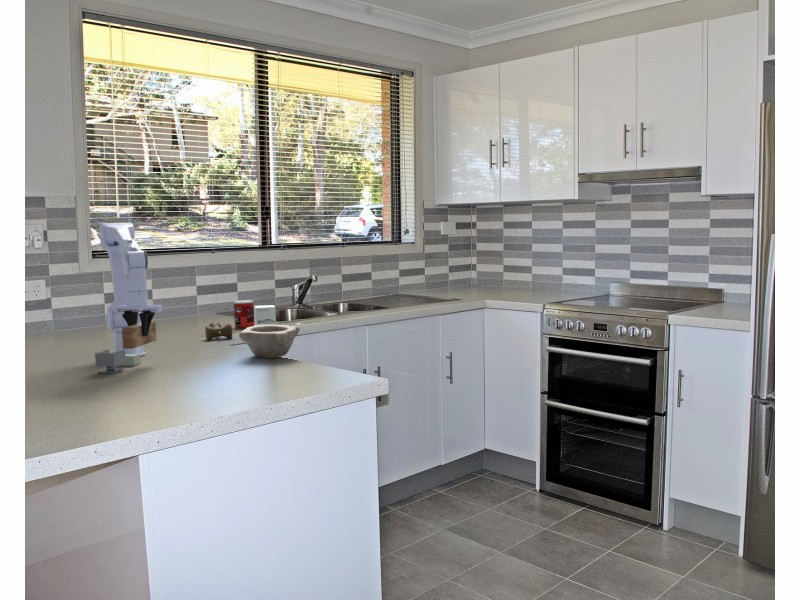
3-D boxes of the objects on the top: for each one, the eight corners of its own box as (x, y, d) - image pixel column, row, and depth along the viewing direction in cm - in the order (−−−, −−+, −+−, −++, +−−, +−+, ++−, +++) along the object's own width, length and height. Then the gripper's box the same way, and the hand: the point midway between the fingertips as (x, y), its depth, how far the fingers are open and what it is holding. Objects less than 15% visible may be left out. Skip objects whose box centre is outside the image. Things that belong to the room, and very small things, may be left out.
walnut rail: (147, 340, 222) (146, 321, 221) (156, 340, 221) (155, 321, 221) (123, 348, 208) (121, 328, 207) (132, 348, 208) (131, 328, 207)
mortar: (285, 361, 220) (284, 332, 219) (235, 360, 224) (233, 331, 223) (304, 351, 237) (303, 324, 236) (257, 350, 240) (256, 323, 239)
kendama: (227, 334, 282) (234, 340, 263) (202, 337, 278) (208, 343, 260) (226, 319, 281) (233, 324, 262) (201, 322, 278) (206, 327, 259)
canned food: (234, 326, 298) (232, 300, 297) (253, 325, 301) (252, 299, 300) (235, 329, 291) (234, 302, 290) (255, 328, 293) (254, 301, 292)
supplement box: (256, 342, 257) (255, 307, 256) (255, 339, 264) (253, 305, 263) (277, 341, 259) (275, 306, 258) (275, 337, 266) (273, 304, 265)
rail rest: (125, 363, 223) (125, 353, 223) (140, 363, 222) (139, 354, 222) (119, 365, 220) (118, 356, 220) (134, 365, 219) (133, 356, 219)
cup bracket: (108, 369, 215) (106, 349, 214) (126, 369, 214) (124, 349, 213) (96, 373, 209) (94, 353, 208) (114, 373, 208) (113, 353, 207)
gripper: (107, 292, 210) (110, 337, 212) (152, 292, 208) (155, 338, 209) (120, 290, 217) (123, 334, 219) (164, 289, 215) (167, 334, 216)
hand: (140, 335), depth 215 cm, fingers closed on walnut rail, 3 cm apart
